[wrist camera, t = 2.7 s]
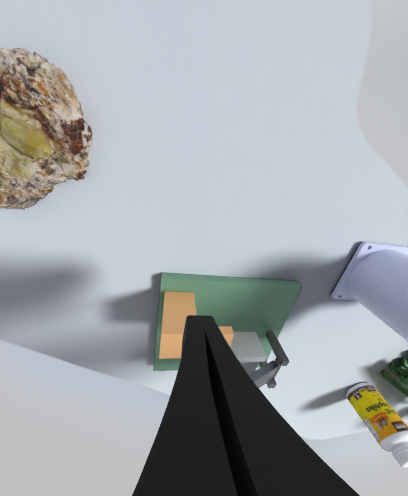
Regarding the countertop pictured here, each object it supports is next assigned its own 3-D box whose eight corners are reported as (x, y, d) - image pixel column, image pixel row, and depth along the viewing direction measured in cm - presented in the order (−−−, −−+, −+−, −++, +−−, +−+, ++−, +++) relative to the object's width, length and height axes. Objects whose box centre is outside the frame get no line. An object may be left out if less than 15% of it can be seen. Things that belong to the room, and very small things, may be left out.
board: (297, 281, 23) (326, 312, 18) (260, 360, 29) (276, 397, 24) (161, 272, 20) (157, 307, 15) (154, 363, 26) (149, 406, 21)
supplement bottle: (373, 377, 37) (438, 451, 28) (368, 391, 39) (426, 463, 30) (345, 385, 37) (401, 462, 27) (342, 399, 39) (393, 473, 30)
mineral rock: (-78, -44, 8) (78, 87, 9) (23, 32, 12) (123, 117, 13) (-106, 164, 12) (11, 245, 13) (-19, 170, 16) (64, 230, 17)
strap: (279, 355, 23) (284, 361, 22) (270, 372, 24) (275, 377, 23) (201, 400, 17) (205, 410, 16) (196, 418, 18) (200, 428, 18)
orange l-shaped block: (220, 293, 20) (234, 334, 16) (215, 314, 22) (226, 357, 17) (165, 291, 19) (161, 334, 15) (162, 312, 21) (159, 358, 16)
